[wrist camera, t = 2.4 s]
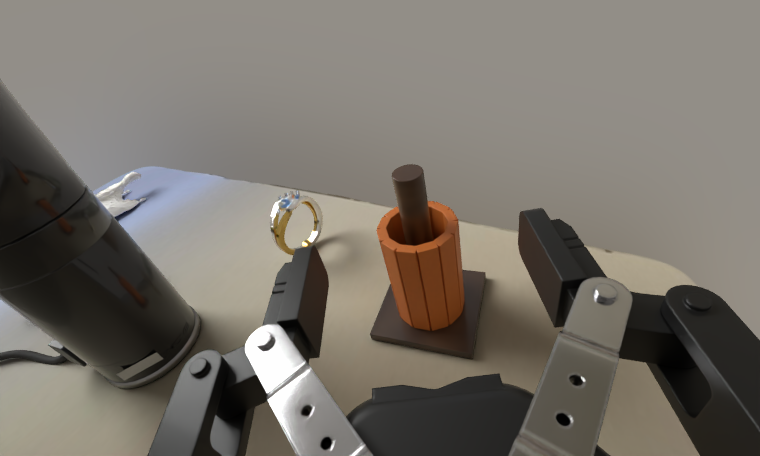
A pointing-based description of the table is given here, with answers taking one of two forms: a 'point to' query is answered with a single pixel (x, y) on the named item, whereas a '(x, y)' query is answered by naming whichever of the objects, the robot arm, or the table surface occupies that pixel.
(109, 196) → the white dragon
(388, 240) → the orange stave barrel
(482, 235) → the table surface
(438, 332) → the brown peg stand
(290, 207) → the ring
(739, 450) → the robot arm
